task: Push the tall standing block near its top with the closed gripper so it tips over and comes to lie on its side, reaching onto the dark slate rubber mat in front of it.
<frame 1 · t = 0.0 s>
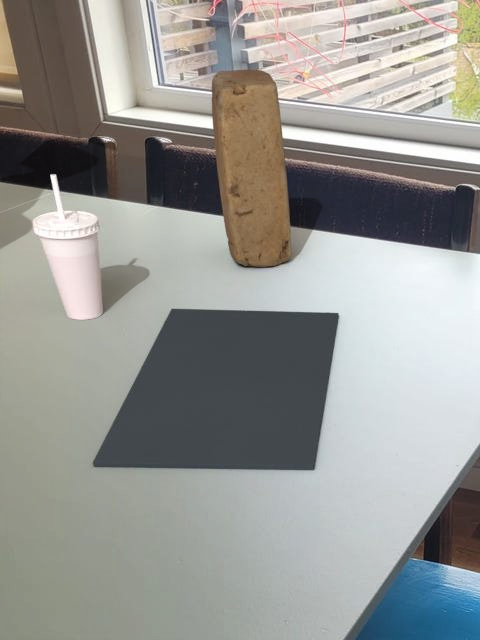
smoothie: (85, 315, 107), on the table
mat: (233, 380, 95), on the table
block: (258, 257, 123), on the table
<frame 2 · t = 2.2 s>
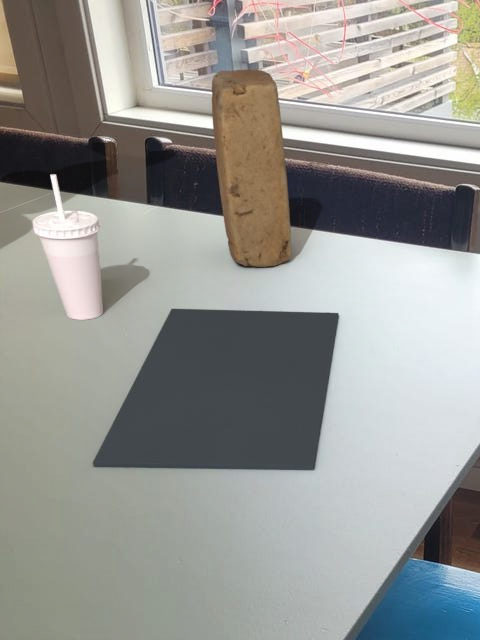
nothing on the table moved.
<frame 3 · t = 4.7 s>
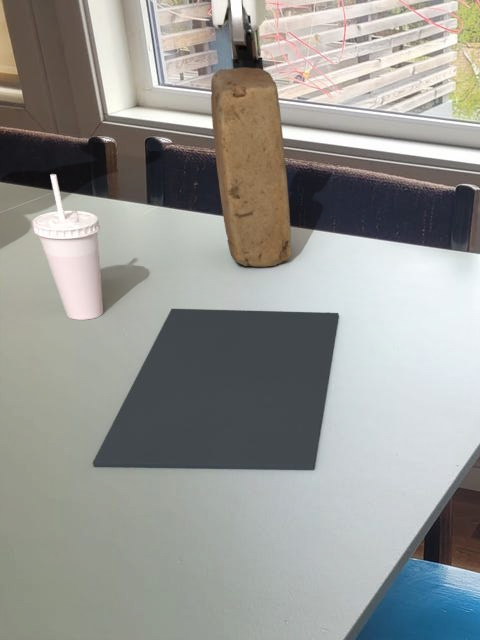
hand: (251, 96, 116), 17 cm above the table, tool pointing down, fingers closed
block: (258, 255, 123), on the table, touching gripper
everything else where it was.
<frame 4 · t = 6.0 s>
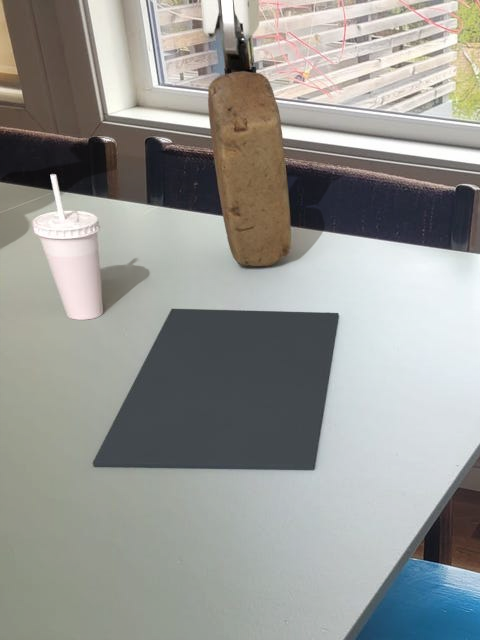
hand: (244, 107, 111), 17 cm above the table, tool pointing down, fingers closed
block: (257, 240, 122), point 2 cm above the table, touching gripper
everything else where it was.
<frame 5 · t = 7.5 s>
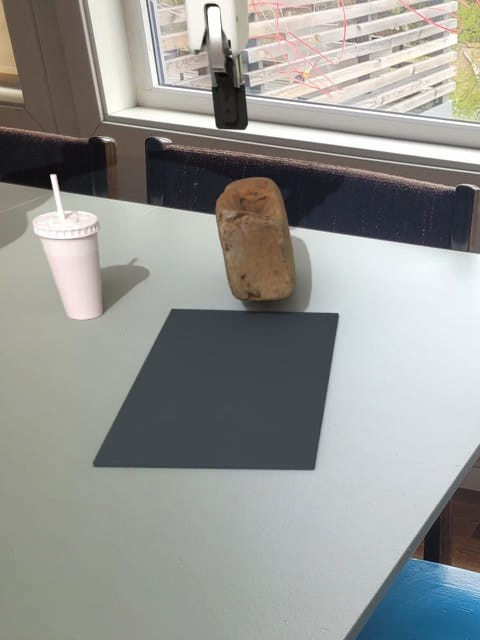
hand: (232, 127, 105), 17 cm above the table, tool pointing down, fingers closed
block: (257, 224, 117), point 5 cm above the table
everything else where it was.
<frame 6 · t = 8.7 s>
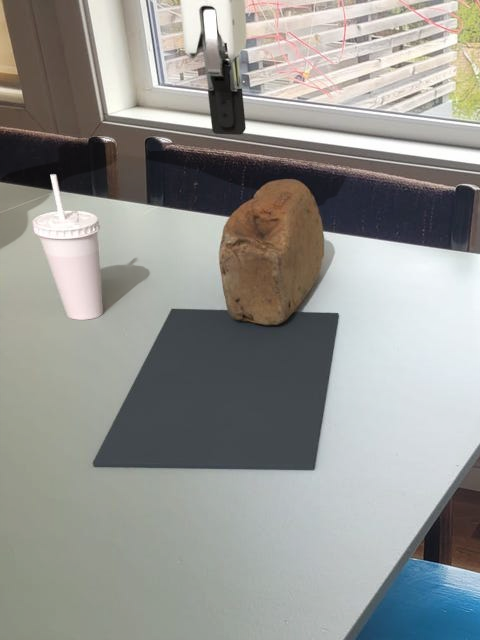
hand: (229, 132, 103), 17 cm above the table, tool pointing down, fingers closed
block: (294, 223, 117), point 5 cm above the table, touching mat
everything else where it was.
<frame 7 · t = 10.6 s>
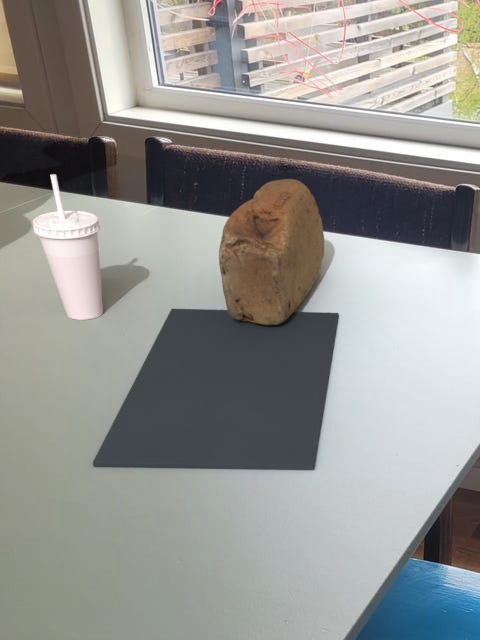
nothing on the table moved.
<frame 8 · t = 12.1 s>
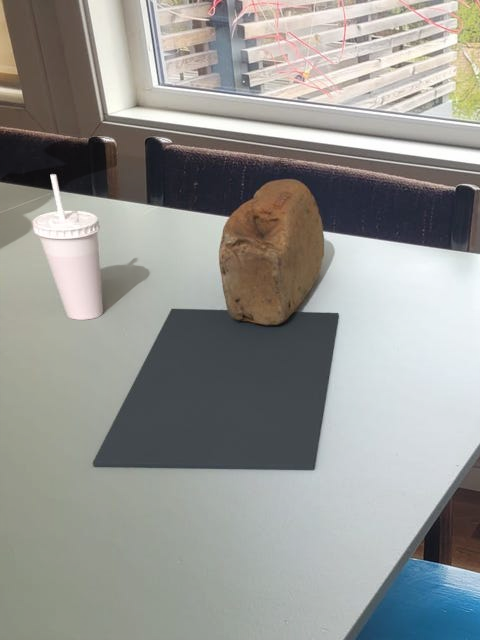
nothing on the table moved.
at the end: block tilted 89°; block touching mat, table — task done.
